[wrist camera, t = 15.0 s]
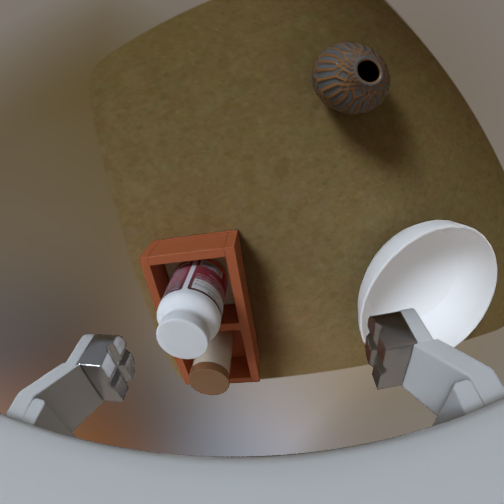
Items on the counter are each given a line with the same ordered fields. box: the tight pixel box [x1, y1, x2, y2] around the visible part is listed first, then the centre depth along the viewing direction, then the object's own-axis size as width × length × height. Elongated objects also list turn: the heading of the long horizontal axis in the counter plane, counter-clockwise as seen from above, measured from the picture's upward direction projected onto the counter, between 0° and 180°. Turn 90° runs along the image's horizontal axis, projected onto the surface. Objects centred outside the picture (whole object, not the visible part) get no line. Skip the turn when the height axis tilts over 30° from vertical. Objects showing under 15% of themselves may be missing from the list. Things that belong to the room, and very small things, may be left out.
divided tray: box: [139, 230, 260, 384], centre depth 36 cm, size 10×19×5 cm, turn 8°
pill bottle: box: [156, 259, 227, 359], centre depth 30 cm, size 6×6×11 cm
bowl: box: [358, 220, 497, 348], centre depth 32 cm, size 18×18×7 cm
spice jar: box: [188, 330, 234, 395], centre depth 35 cm, size 5×5×8 cm
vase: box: [312, 42, 390, 114], centre depth 22 cm, size 7×7×9 cm
